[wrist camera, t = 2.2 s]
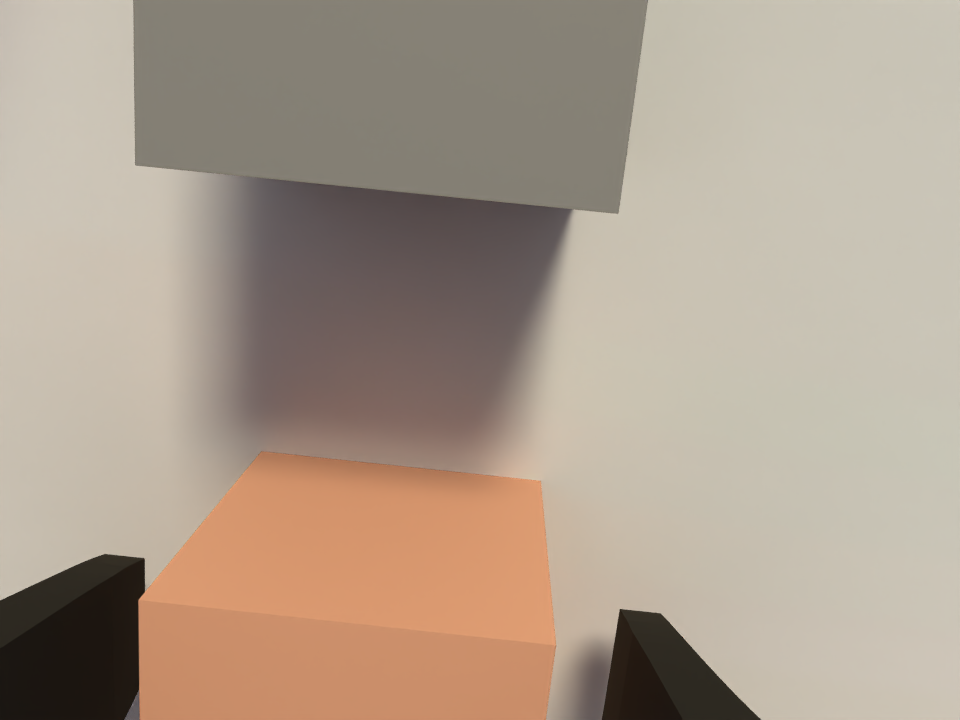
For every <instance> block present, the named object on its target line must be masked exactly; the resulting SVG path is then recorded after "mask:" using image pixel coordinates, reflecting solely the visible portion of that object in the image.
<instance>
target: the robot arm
mask: <svg viewBox="0 0 960 720" xmlns="http://www.w3.org/2000/svg"><path fill="white" fill-rule="evenodd" d="M144 593H145V558H136V557H127V556H118V555H108V554H104V555H101V556H98V557H95V558H93V559H90V560H88V561H85V562H83V563H80V564H78V565H76V566H74V567H71V568H69V569H67V570H65V571H63V572H60V573H58V574H56V575H54V576H52V577H50V578H47V579H45V580H43V581H41V582H39V583H37V584H35V585H33V586H30V587H28V588H26V589H24V590H22V591H20V592H18V593H15V594H13V595H11V596H9V597H7V598H5V599H3V600H0V720H124V719H125V717H126V715H127V713H128V711H129V709H130V707H131V705H132V703H133V701H134V699H135V697H136V695H137V693H138V690H139V605H138V600H139V599H140V598H141V596H142V595H143V594H144ZM602 720H761V719H760V718H759V717H758V716H756V715H755V714H754V713H753V712H752V711H751V710H750V709H749V708H748V707H747V706H746V705H745V704H744V703H743V702H742V701H741V700H740V699H739V698H738V697H737V696H736V695H735V694H734V693H733V692H732V690H731V689H730V688H729V687H728V686H727V685H726V684H725V683H724V682H723V681H722V680H721V679H720V678H719V677H718V676H717V675H716V674H715V673H714V671H713V670H712V669H711V668H710V667H709V666H708V665H707V664H706V663H705V662H704V661H703V660H702V658H701V657H700V656H699V655H698V654H697V653H696V652H695V651H694V650H693V648H692V647H691V646H690V645H689V644H688V643H687V642H686V641H685V640H684V638H683V637H682V636H681V635H680V634H679V633H678V632H677V631H676V629H675V628H674V627H673V626H672V625H671V624H670V623H669V622H668V621H667V620H666V619H665V618H664V617H663V615H662V614H661V613H651V612H642V611H633V610H623V609H620V612H619V618H618V624H617V630H616V637H615V643H614V649H613V655H612V661H611V668H610V674H609V680H608V686H607V693H606V699H605V705H604V711H603V717H602Z"/></svg>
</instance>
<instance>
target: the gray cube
mask: <svg viewBox="0 0 960 720" xmlns="http://www.w3.org/2000/svg"><path fill="white" fill-rule="evenodd" d="M647 3H648V0H133V9H134V100H135V165H137V166H147V167H157V168H167V169H177V170H187V171H197V172H207V173H217V174H227V175H237V176H247V177H257V178H267V179H277V180H287V181H297V182H307V183H317V184H327V185H336V186H346V187H356V188H366V189H376V190H386V191H396V192H406V193H416V194H426V195H436V196H446V197H456V198H466V199H476V200H486V201H496V202H506V203H516V204H526V205H536V206H546V207H556V208H566V209H576V210H586V211H596V212H606V213H616V214H618V213H619V206H620V199H621V191H622V184H623V177H624V170H625V162H626V155H627V148H628V141H629V133H630V126H631V119H632V112H633V104H634V97H635V90H636V83H637V75H638V68H639V61H640V54H641V46H642V39H643V32H644V25H645V18H646V10H647Z"/></svg>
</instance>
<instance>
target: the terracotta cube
mask: <svg viewBox="0 0 960 720" xmlns="http://www.w3.org/2000/svg"><path fill="white" fill-rule="evenodd" d="M138 605H139V702H140V720H546V713H547V706H548V699H549V692H550V685H551V677H552V670H553V663H554V656H555V649H556V640H555V629H554V618H553V608H552V597H551V586H550V575H549V565H548V554H547V543H546V533H545V522H544V511H543V500H542V490H541V481H536V480H527V479H518V478H508V477H499V476H489V475H480V474H470V473H461V472H451V471H442V470H432V469H423V468H413V467H404V466H394V465H385V464H376V463H366V462H357V461H347V460H338V459H328V458H319V457H309V456H300V455H290V454H281V453H271V452H262V451H261V453H260V454H259V455H258V456H257V457H256V459H255V460H254V461H253V462H252V463H251V465H250V466H249V467H248V468H247V469H246V471H245V472H244V473H243V474H242V475H241V477H240V478H239V479H238V480H237V482H236V483H235V484H234V485H233V486H232V488H231V489H230V490H229V491H228V492H227V494H226V495H225V496H224V497H223V498H222V500H221V501H220V502H219V503H218V504H217V506H216V507H215V508H214V509H213V511H212V512H211V513H210V514H209V515H208V517H207V518H206V519H205V520H204V521H203V523H202V524H201V525H200V526H199V527H198V529H197V530H196V531H195V532H194V534H193V535H192V536H191V537H190V538H189V540H188V541H187V542H186V543H185V544H184V546H183V547H182V548H181V549H180V550H179V552H178V553H177V554H176V555H175V556H174V558H173V559H172V560H171V561H170V563H169V564H168V565H167V566H166V567H165V569H164V570H163V571H162V572H161V573H160V575H159V576H158V577H157V578H156V579H155V581H154V582H153V583H152V584H151V585H150V587H149V588H148V589H147V590H146V592H145V593H144V594H143V595H142V596H141V598H140V599H139V600H138Z"/></svg>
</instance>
